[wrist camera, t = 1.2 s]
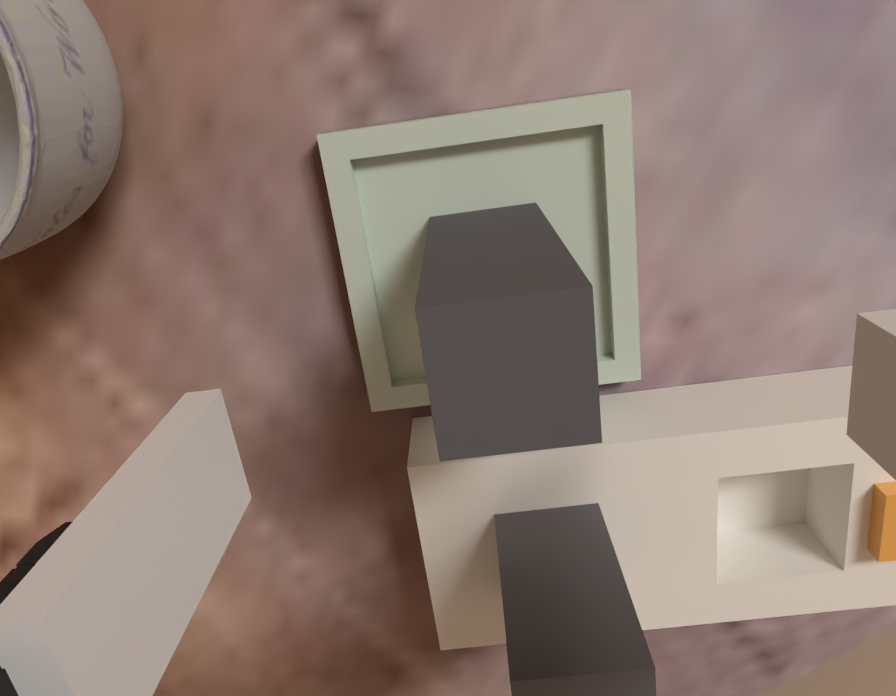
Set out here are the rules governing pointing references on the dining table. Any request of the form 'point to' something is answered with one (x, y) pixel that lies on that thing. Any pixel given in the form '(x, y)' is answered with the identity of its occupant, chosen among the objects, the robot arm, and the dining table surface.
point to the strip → (655, 528)
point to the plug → (506, 335)
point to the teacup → (53, 118)
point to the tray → (477, 188)
